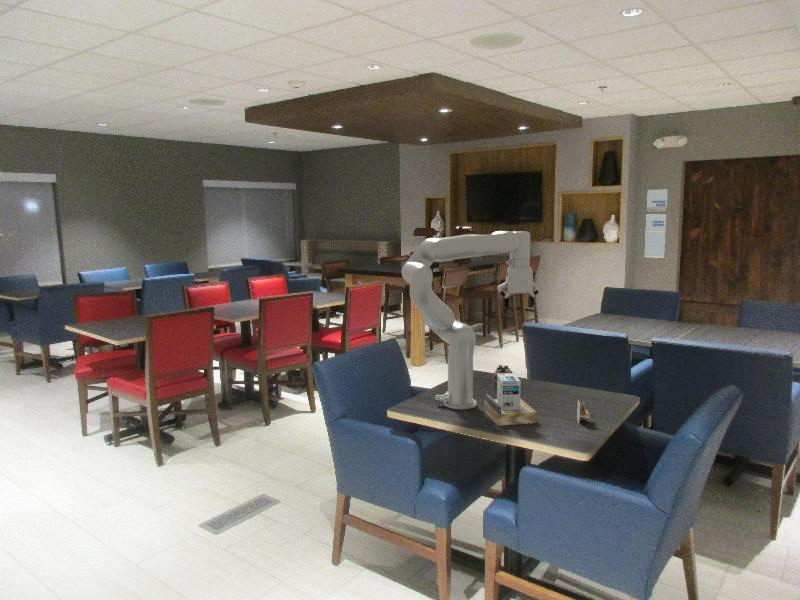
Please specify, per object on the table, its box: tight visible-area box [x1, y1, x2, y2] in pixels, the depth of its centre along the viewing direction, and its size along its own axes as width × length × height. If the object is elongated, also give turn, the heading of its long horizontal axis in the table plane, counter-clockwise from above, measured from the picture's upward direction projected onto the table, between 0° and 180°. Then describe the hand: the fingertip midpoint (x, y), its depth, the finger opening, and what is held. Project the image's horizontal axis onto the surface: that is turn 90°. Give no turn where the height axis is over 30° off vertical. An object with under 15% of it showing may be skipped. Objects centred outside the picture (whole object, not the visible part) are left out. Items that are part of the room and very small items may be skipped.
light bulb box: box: [496, 372, 522, 410], centre depth 210 cm, size 11×7×11 cm, turn 1°
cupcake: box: [491, 364, 514, 391], centre depth 243 cm, size 10×10×10 cm
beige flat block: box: [483, 393, 538, 426], centre depth 211 cm, size 14×16×6 cm
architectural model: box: [576, 399, 591, 425], centre depth 205 cm, size 3×7×7 cm, turn 170°
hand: (518, 307), depth 227 cm, fingers open, 9 cm apart
